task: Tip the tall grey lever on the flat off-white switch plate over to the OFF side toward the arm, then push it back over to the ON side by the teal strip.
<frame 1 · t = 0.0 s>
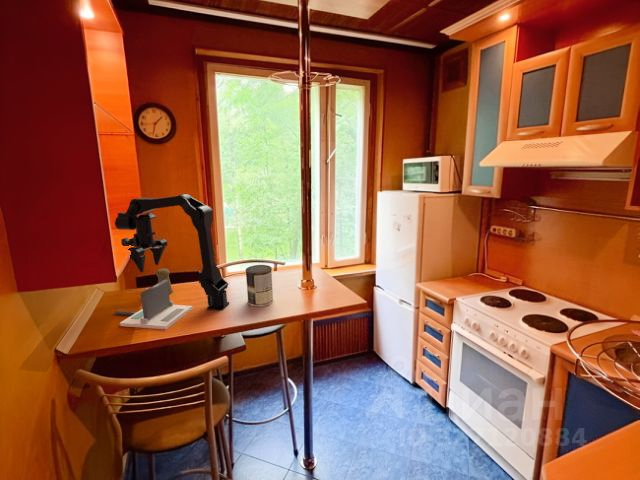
hand: (149, 268, 138), 15 cm above the counter, tool pointing down, fingers open, 9 cm apart
switch plate: (158, 316, 128), on the counter
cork: (165, 293, 151), on the counter
coffee can: (260, 302, 140), on the counter
lever: (156, 299, 126), point 7 cm above the counter, hinge at 0.0°
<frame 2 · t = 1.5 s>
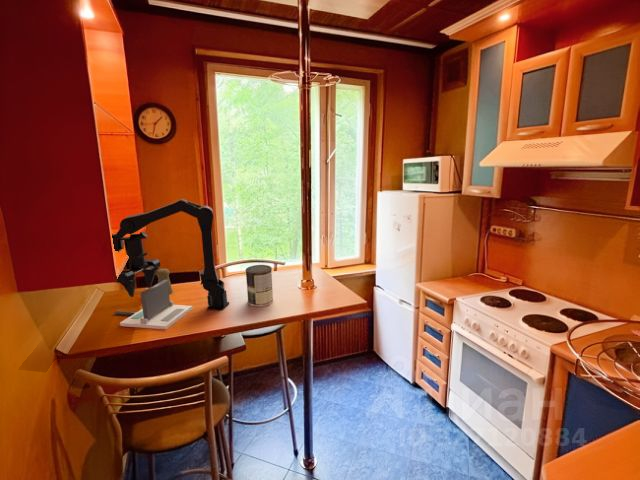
hand: (140, 292, 127), 10 cm above the counter, tool pointing down, fingers open, 9 cm apart
nothing on the counter moved.
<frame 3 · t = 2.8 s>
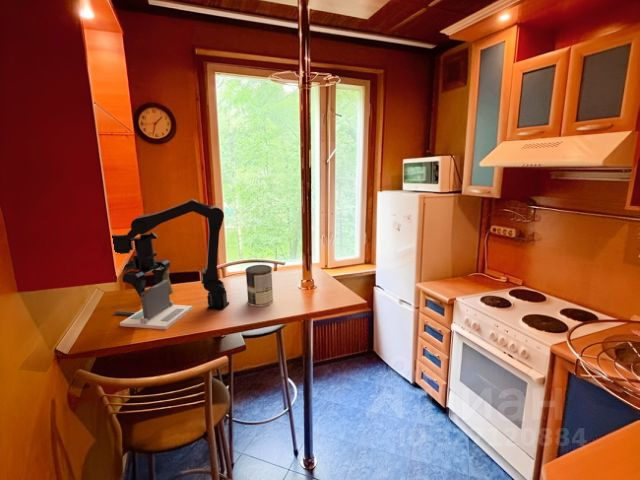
hand: (150, 292, 126), 9 cm above the counter, tool pointing down
lever: (156, 299, 126), point 7 cm above the counter, hinge at -0.4°, touching gripper
everything else where it was.
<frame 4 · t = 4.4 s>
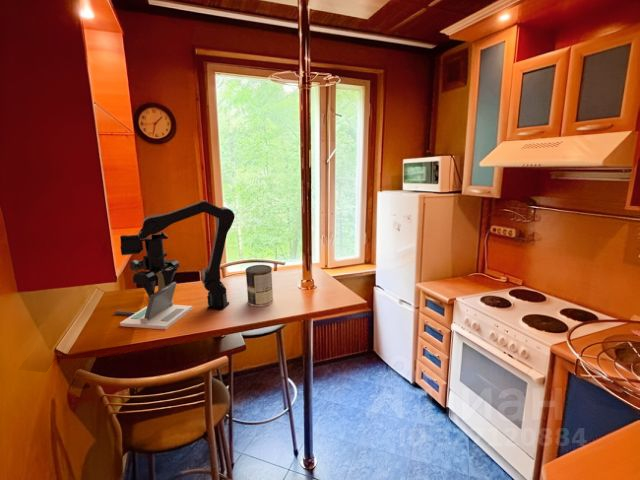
hand: (159, 293, 125), 10 cm above the counter, tool pointing down
lever: (160, 300, 126), point 7 cm above the counter, hinge at -22.5°, touching gripper
everything else where it was.
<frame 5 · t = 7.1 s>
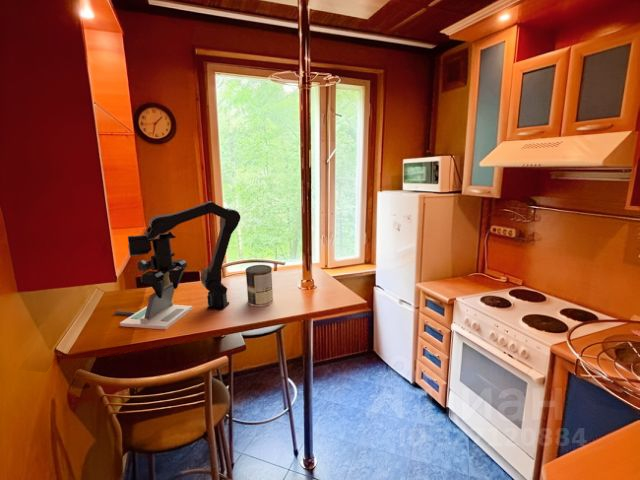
hand: (168, 293, 125), 10 cm above the counter, tool pointing down
lever: (160, 300, 126), point 7 cm above the counter, hinge at -21.9°, touching gripper
everything else where it was.
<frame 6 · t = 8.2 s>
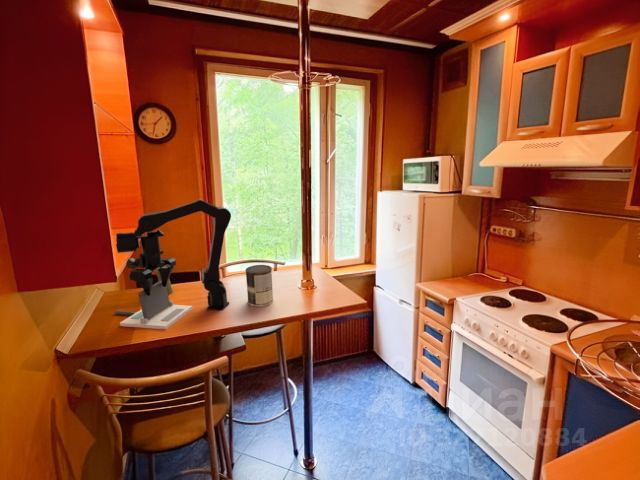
hand: (156, 290, 126), 10 cm above the counter, tool pointing down
lever: (155, 299, 126), point 7 cm above the counter, hinge at 5.3°, touching gripper
everything else where it was.
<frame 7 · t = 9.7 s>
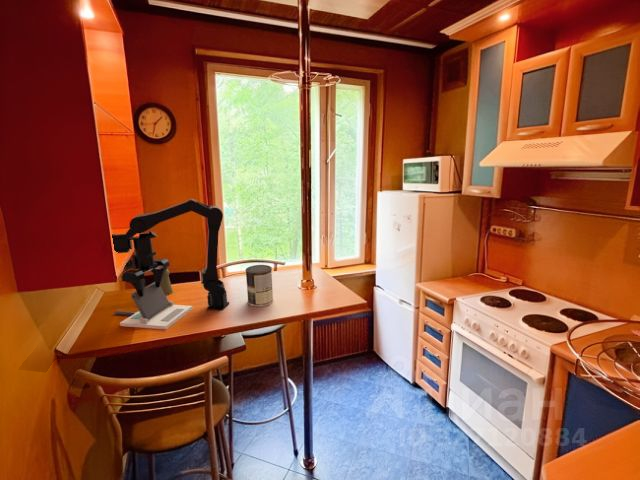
hand: (150, 291, 126), 10 cm above the counter, tool pointing down
lever: (151, 300, 127), point 7 cm above the counter, hinge at 23.3°, touching gripper
everything else where it was.
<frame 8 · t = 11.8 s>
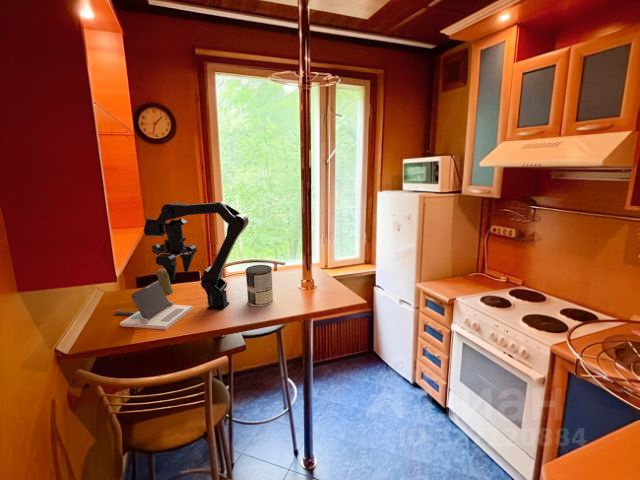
hand: (179, 275, 134), 13 cm above the counter, tool pointing down, fingers open, 9 cm apart
lever: (151, 300, 127), point 7 cm above the counter, hinge at 23.4°
everything else where it was.
at the end: lever at +23° (first picture: +0°); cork moved 0.2 cm from its start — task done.
